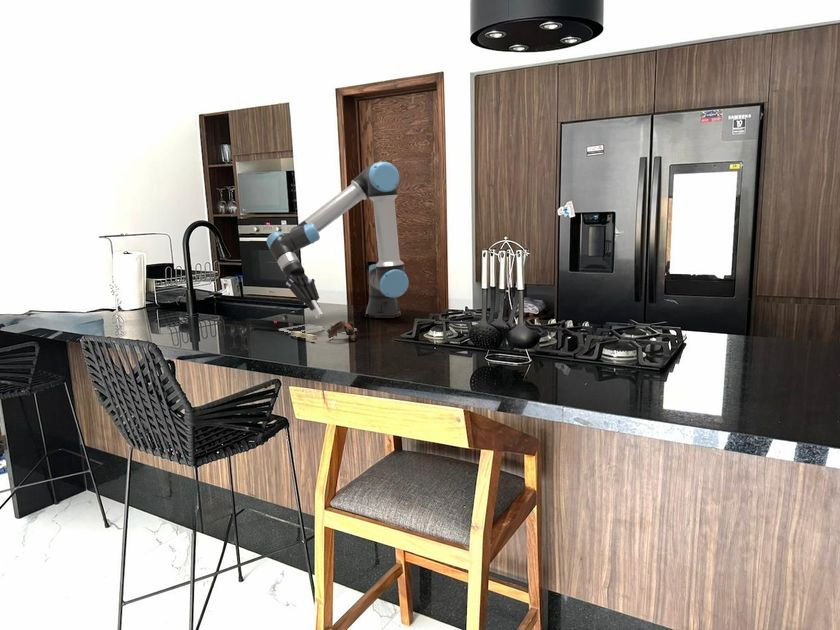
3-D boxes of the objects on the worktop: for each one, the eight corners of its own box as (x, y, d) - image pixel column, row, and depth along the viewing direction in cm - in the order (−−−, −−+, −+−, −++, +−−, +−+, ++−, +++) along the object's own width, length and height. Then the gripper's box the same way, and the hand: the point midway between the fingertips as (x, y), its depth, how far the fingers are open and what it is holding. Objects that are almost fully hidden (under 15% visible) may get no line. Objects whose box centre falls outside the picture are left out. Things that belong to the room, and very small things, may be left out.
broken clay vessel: (352, 345, 213) (340, 325, 211) (332, 355, 217) (319, 335, 216) (365, 330, 224) (353, 311, 222) (346, 340, 228) (334, 321, 226)
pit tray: (278, 332, 234) (278, 328, 234) (308, 327, 244) (308, 324, 244) (293, 336, 228) (293, 332, 227) (324, 331, 238) (324, 327, 237)
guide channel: (291, 337, 224) (290, 331, 224) (333, 330, 238) (332, 324, 238) (314, 343, 215) (314, 336, 214) (357, 335, 229) (356, 328, 228)
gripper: (300, 273, 242) (327, 320, 235) (272, 274, 232) (300, 323, 225) (309, 260, 238) (337, 308, 230) (282, 260, 228) (311, 311, 220)
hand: (319, 316), depth 228 cm, fingers closed
